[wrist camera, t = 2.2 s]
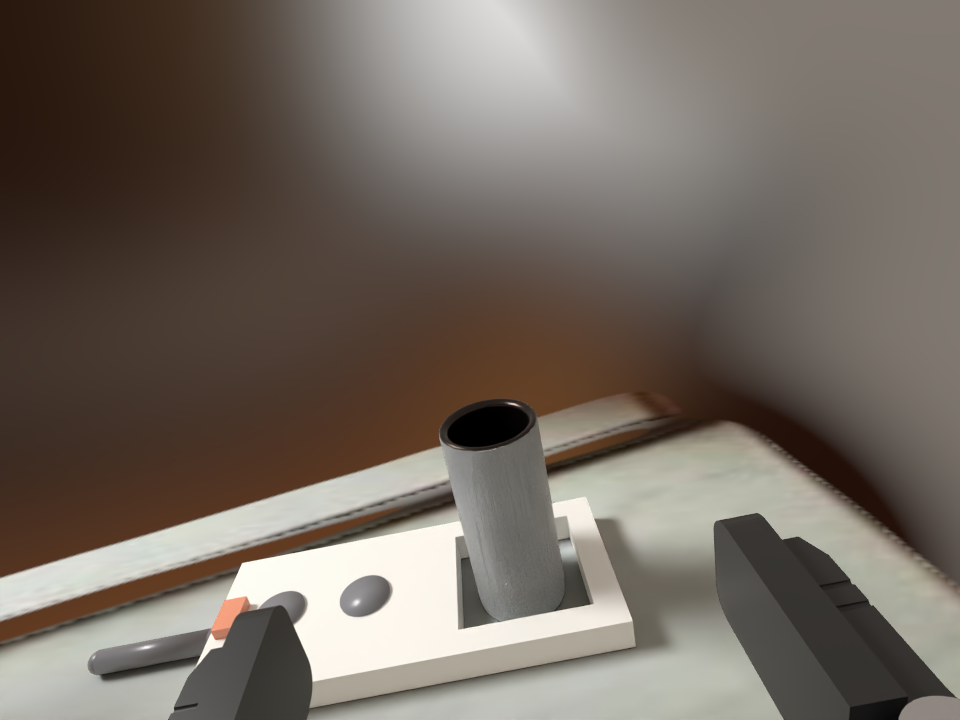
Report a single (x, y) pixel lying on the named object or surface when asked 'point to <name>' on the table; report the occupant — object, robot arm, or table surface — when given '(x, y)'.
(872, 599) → the table surface
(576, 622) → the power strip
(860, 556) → the table surface
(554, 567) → the planter
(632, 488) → the table surface
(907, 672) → the robot arm
